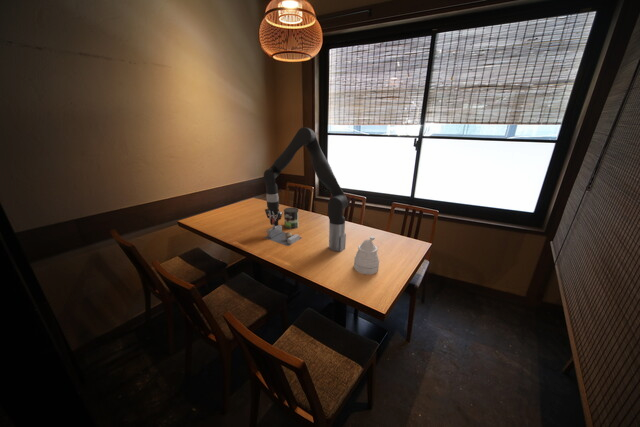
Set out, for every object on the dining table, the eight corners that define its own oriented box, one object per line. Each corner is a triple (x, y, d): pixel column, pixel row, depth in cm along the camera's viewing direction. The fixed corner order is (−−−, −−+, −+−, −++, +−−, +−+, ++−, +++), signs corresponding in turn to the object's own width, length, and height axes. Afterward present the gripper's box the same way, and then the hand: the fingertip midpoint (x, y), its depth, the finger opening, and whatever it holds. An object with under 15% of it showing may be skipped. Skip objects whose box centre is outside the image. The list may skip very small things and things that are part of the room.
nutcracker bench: (302, 239, 163) (302, 233, 161) (288, 248, 152) (288, 241, 150) (278, 232, 173) (278, 226, 172) (263, 239, 162) (263, 233, 161)
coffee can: (293, 232, 174) (293, 213, 169) (281, 229, 178) (280, 210, 173) (301, 226, 182) (301, 208, 178) (290, 224, 187) (289, 206, 182)
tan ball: (293, 237, 159) (293, 231, 158) (289, 239, 156) (288, 234, 155) (288, 236, 162) (288, 230, 160) (284, 238, 158) (284, 232, 157)
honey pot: (375, 260, 138) (377, 231, 132) (381, 274, 126) (384, 242, 120) (352, 261, 138) (353, 231, 132) (356, 274, 126) (358, 243, 120)
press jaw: (282, 232, 169) (281, 216, 165) (270, 238, 160) (269, 221, 156) (279, 231, 171) (278, 215, 166) (267, 237, 162) (266, 220, 158)
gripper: (285, 200, 156) (286, 225, 162) (268, 196, 164) (270, 221, 170) (276, 203, 150) (278, 229, 156) (260, 199, 158) (262, 224, 164)
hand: (274, 224), depth 163 cm, fingers open, 3 cm apart
